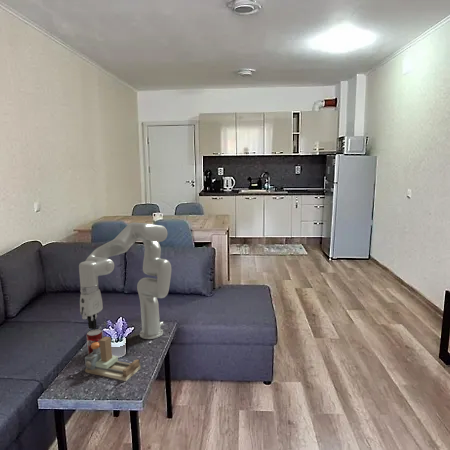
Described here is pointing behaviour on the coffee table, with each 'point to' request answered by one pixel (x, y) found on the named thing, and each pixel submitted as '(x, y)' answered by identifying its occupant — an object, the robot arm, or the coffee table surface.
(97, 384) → the coffee table surface
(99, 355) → the rail bed
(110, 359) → the carriage
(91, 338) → the soda can
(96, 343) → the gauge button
